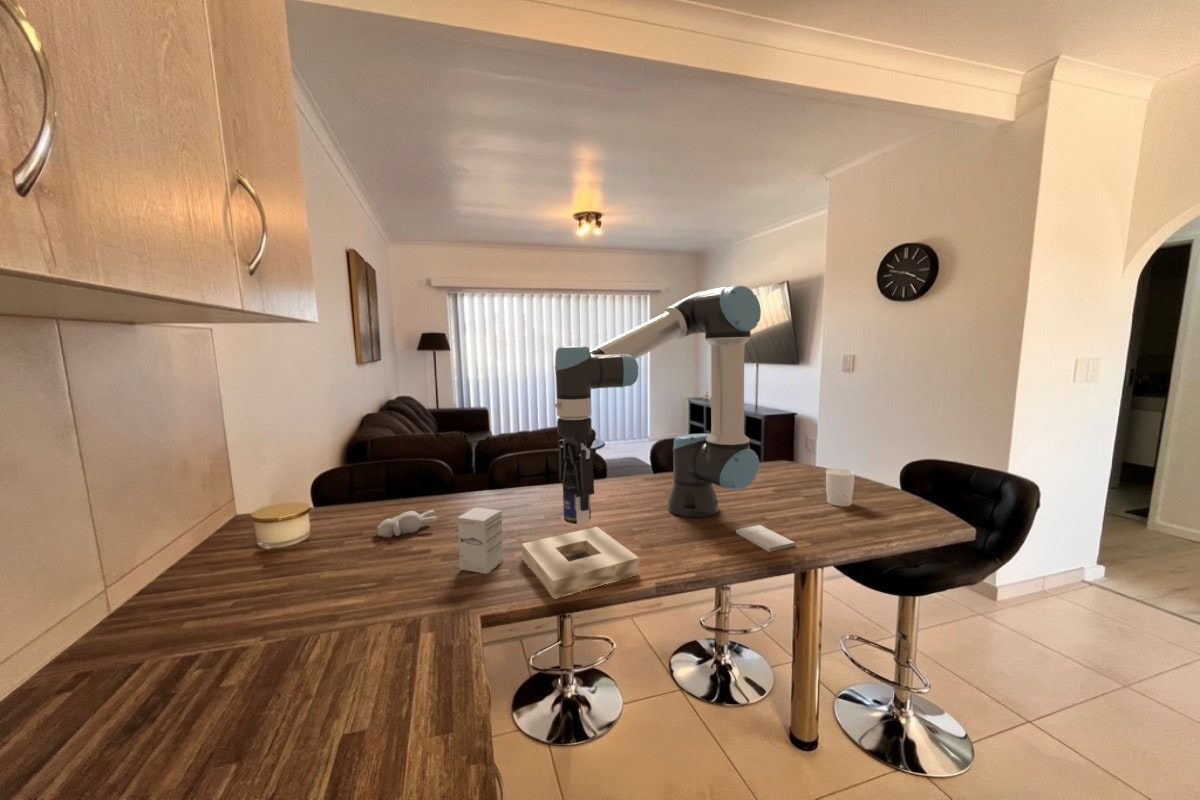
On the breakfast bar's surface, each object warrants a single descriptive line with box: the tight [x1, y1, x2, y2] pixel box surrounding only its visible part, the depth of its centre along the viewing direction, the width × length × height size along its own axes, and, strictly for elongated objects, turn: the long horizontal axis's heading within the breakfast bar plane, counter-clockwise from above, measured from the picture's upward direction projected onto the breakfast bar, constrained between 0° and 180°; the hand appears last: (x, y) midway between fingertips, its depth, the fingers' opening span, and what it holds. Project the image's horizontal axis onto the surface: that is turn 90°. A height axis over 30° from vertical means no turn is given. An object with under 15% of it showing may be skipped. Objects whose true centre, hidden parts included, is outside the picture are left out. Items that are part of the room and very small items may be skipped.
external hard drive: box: [735, 524, 796, 553], centre depth 116 cm, size 2×8×12 cm
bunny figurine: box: [376, 509, 438, 538], centre depth 126 cm, size 10×5×15 cm
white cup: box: [825, 467, 856, 507], centre depth 140 cm, size 8×8×10 cm
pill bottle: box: [562, 469, 592, 525], centre depth 101 cm, size 6×6×11 cm
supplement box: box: [457, 507, 504, 575], centre depth 104 cm, size 7×7×13 cm
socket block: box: [521, 526, 640, 599], centre depth 103 cm, size 20×20×4 cm
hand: (576, 518), depth 102 cm, fingers closed on pill bottle, 6 cm apart
